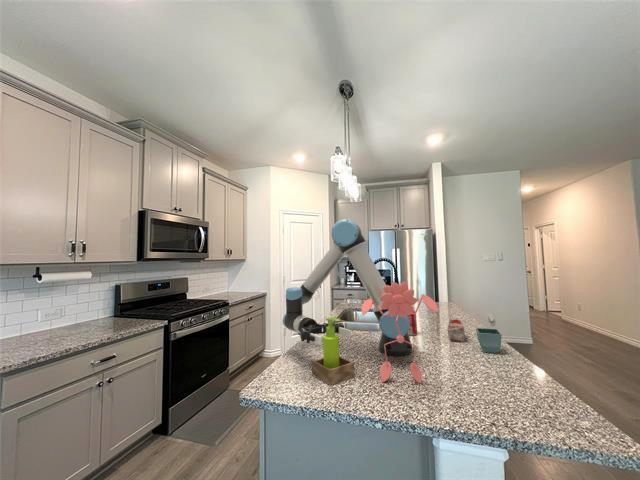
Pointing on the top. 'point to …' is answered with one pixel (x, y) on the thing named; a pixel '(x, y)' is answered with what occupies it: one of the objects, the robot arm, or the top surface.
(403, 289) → the figurine
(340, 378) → the walnut caddy
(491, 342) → the flower pot
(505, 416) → the top surface
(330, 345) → the soap dispenser
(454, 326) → the food item
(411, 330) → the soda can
